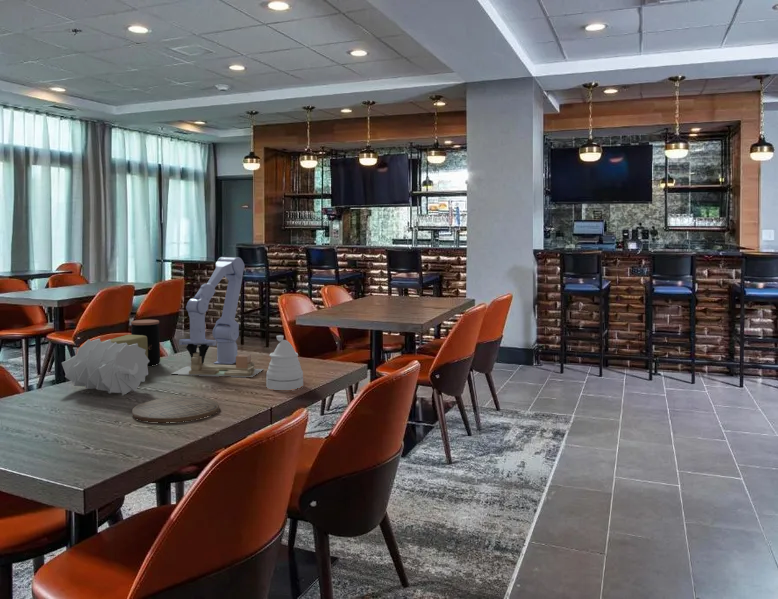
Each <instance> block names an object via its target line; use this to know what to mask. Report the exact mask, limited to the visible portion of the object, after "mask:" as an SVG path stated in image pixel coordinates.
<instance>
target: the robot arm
mask: <svg viewBox="0 0 778 599" xmlns="http://www.w3.org/2000/svg"><path fill="white" fill-rule="evenodd" d="M244 271H245V263H244V260H243V259H242V258H241V257H239V256H236V257H229V256H220V257H219V258H218V259H217V261H216V262H215V269H214V271H213V272H212V274H211V276H210V277H209V280H207V283H203V284H201V285H200V287H199V290H198V291H197V292H196V294H195V295H194V297H193V298H190V299H189V300H188V301H187V303H186V306H185V309H186V312H187V313H188V317H189V338H183V339H179V340H178V343H179V344H178V346H179V345H180V346H183V345H185V346H186V345H187V346H186V348H185V349H186V350H187V351H188V353H189V356H190V359H191V358H192V357H193V353H195V352H199V353H200V356H201V358H202V363H203V364H205V363H204V362H205V358H206V354H207V352H208V350H209V348H210V346H212V347H216V357H217V359H216V361H214V362H213V364H215V365H234V364H236V356H237V355H238V344H237V339H238V338H239V336H240V328H239V327H240V324H239V323H238V322H237V321H236V320H235V319H236V313H237V310H238V303H239V298H240V294H241V293H240V292H241V288H242V283H243V275H244ZM223 278H226V280H227V281H228V282H227V287H226V292H225V298H224V302H223V308H222V311H221V312H222V313H221V317H220V318H218V319H217V320H216V321H215V325H214V327H213V329H212V338H214V339H206V313H207V312H208V309H209V305H210V301H211V299H212V298H213V296H214V294H216V287H217V286H218V285H219V283H220V282H221V281H222V279H223ZM197 350H198V351H197Z"/></svg>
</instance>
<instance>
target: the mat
mask: <svg viewBox="0 0 778 599" xmlns="http://www.w3.org/2000/svg"><path fill="white" fill-rule="evenodd" d="M190 370H191V366H189V365H188V366H187V365H186V366H185V367H182V368H180V369H177V370H175V371H174V372H171V373H170V375H171V374H178V375H177V376H192V375H199V376H200V377H219V376H231V377H230V378H246V377H253V376H254V375H256V374H257V375H259V374H260V373H261V371H262V370H263V371H264V370H265V369H264V368H254V374H252V375H251V376H235V375H224V372H226V371H228V370H219V372H218V373H216V374H215V375H208V374H189V371H190ZM263 371H262V372H263ZM259 372H260V373H259ZM258 373H259V374H258ZM257 375H256V376H257ZM254 377H255V376H254ZM254 377H253V378H254Z"/></svg>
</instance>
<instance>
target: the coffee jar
mask: <svg viewBox="0 0 778 599" xmlns="http://www.w3.org/2000/svg"><path fill="white" fill-rule="evenodd" d="M130 323H131V325H132V326H131V328H130V329H131V330H130V331H131V334H130V335H143V336H147V344H148V359H149V361H150V362H149V363H148V366H152V365H156V364H158V365H160V362H161V345H160V344H161V342H160V341H161V340H160V339H161V338H160V337H161V335H160V326H159V324H160V320H158V319H136V320H131V321H130ZM152 367H153V366H152Z"/></svg>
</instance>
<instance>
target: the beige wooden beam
mask: <svg viewBox="0 0 778 599" xmlns="http://www.w3.org/2000/svg"><path fill="white" fill-rule="evenodd" d="M195 356H200V353H199V351H197V352H195V353H193V357H195ZM250 367H254V368H255V361H251V363H249V364H248V368H250ZM248 368H236V364H214V363H213V364H211V363H209V364H208V363H202V369H219V370H247V369H248Z"/></svg>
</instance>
